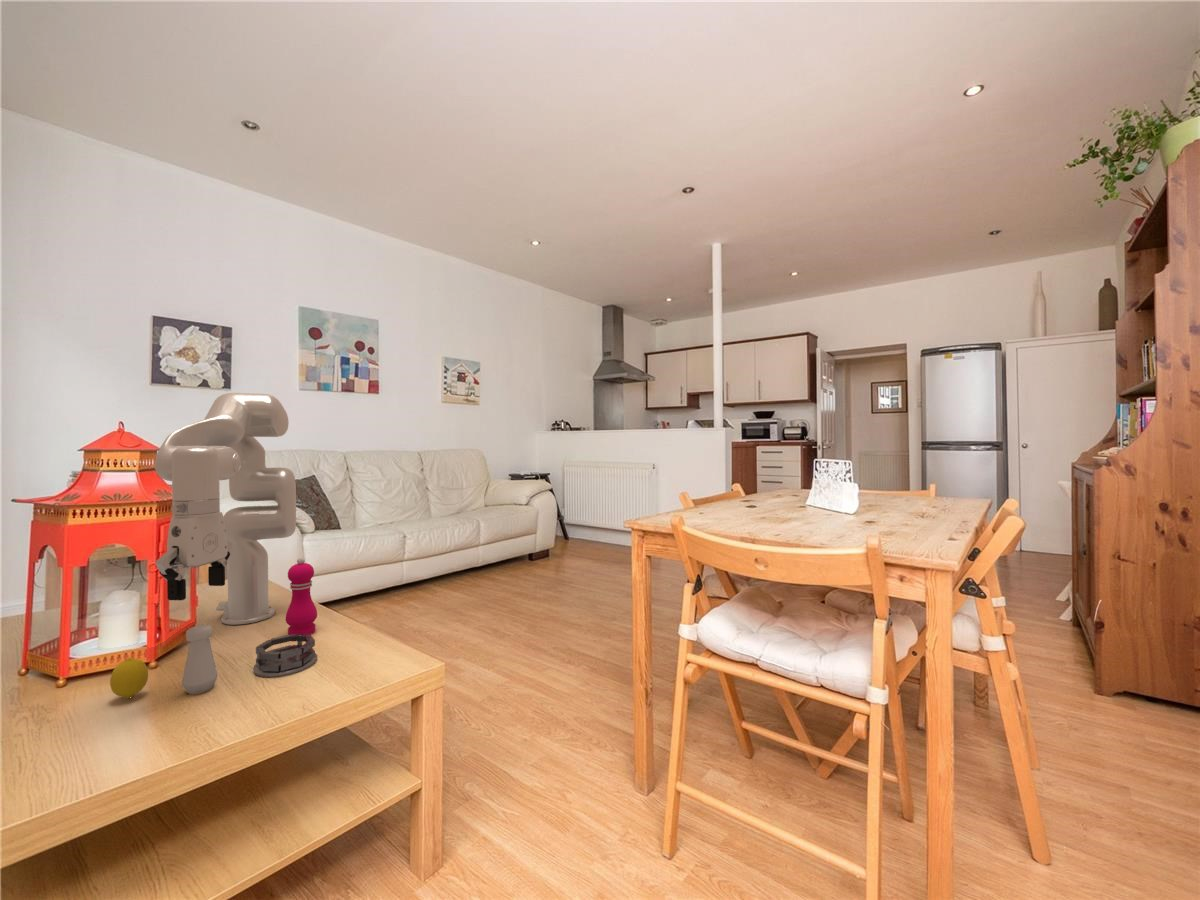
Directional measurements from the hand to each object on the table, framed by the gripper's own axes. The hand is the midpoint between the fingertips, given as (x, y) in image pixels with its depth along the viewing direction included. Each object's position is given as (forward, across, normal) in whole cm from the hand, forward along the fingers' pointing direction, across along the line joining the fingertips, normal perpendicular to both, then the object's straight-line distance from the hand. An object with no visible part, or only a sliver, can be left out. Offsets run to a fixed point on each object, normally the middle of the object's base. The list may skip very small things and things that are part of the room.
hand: (197, 592), depth 104 cm
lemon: (+20, -3, +11) cm, 24 cm away
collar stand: (+20, +13, -10) cm, 26 cm away
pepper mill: (+20, +31, -2) cm, 37 cm away
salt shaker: (+20, +1, 0) cm, 20 cm away
